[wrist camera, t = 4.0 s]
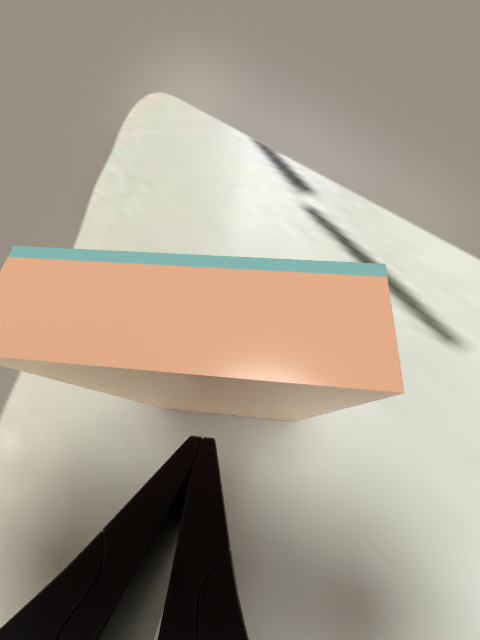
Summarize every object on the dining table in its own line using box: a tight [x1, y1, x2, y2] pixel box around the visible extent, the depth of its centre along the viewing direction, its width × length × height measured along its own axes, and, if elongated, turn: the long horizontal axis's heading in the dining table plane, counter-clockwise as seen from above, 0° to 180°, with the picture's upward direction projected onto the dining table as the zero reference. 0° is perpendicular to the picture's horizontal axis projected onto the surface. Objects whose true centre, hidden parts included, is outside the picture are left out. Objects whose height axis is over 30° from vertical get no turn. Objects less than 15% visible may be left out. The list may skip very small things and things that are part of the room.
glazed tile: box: [0, 246, 404, 421], centre depth 10 cm, size 2×8×12 cm, turn 85°
